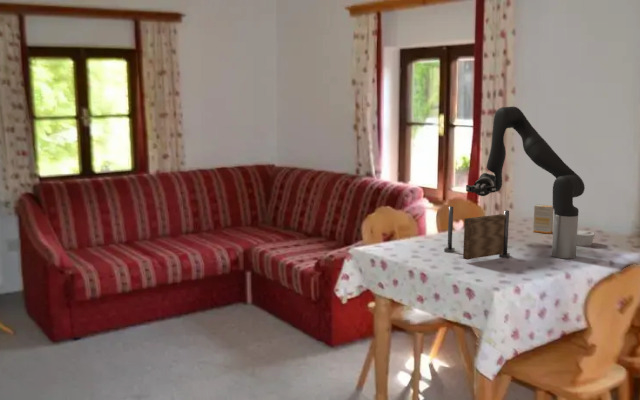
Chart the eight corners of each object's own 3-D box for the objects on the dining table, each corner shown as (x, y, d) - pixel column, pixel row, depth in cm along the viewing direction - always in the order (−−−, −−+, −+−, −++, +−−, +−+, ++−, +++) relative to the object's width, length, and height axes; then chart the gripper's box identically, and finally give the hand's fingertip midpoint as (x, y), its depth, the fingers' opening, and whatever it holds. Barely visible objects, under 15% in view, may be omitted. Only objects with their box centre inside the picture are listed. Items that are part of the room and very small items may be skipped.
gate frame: (509, 256, 272) (511, 210, 269) (508, 258, 268) (510, 211, 265) (446, 249, 282) (447, 205, 279) (444, 251, 279) (445, 207, 276)
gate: (499, 252, 271) (501, 214, 268) (503, 254, 269) (505, 215, 266) (462, 258, 261) (464, 218, 259) (467, 259, 259) (468, 219, 257)
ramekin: (596, 247, 288) (597, 235, 287) (569, 246, 290) (569, 234, 289) (591, 241, 299) (592, 230, 298) (565, 240, 301) (565, 229, 300)
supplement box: (552, 232, 319) (554, 205, 317) (550, 234, 315) (551, 206, 313) (535, 230, 323) (536, 203, 321) (532, 232, 319) (534, 205, 317)
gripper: (469, 177, 291) (461, 181, 275) (500, 178, 286) (493, 182, 270) (468, 194, 292) (460, 199, 276) (499, 195, 287) (493, 200, 271)
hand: (477, 191), depth 273 cm, fingers closed
